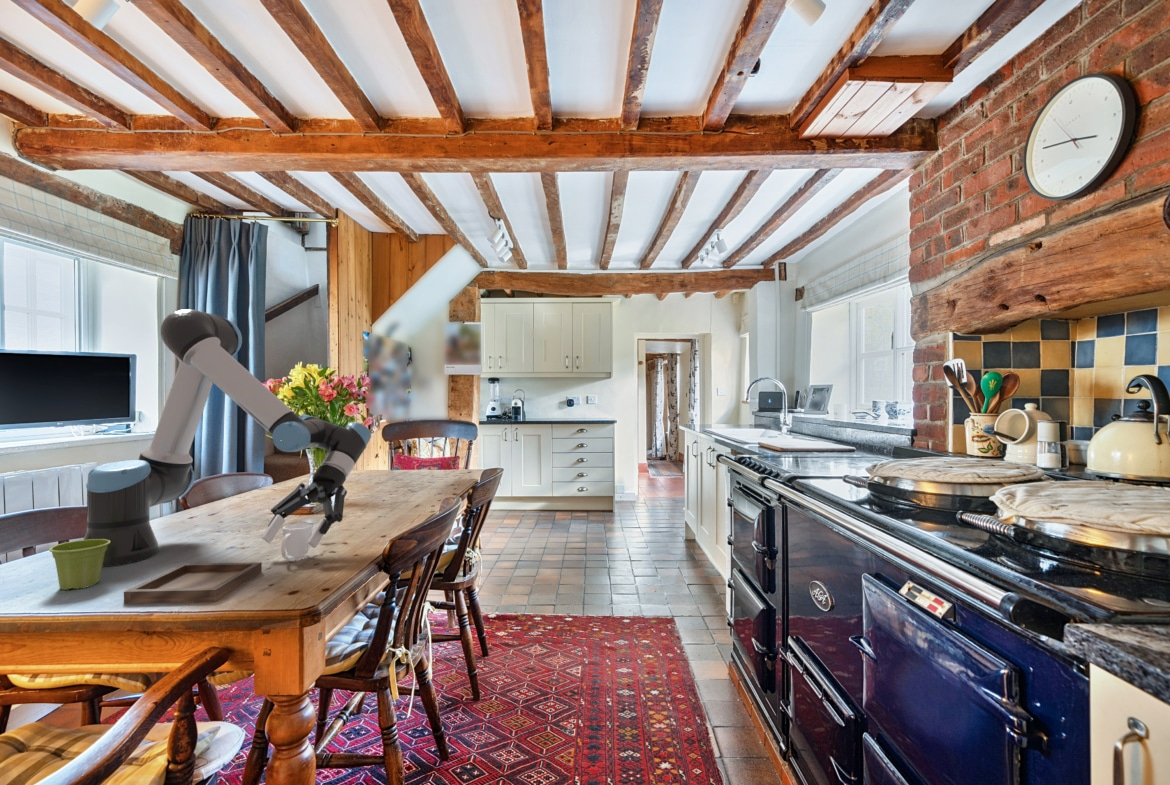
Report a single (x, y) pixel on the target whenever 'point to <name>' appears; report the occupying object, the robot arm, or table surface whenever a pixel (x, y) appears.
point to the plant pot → (79, 562)
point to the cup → (296, 540)
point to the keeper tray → (193, 583)
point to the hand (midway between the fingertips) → (288, 542)
